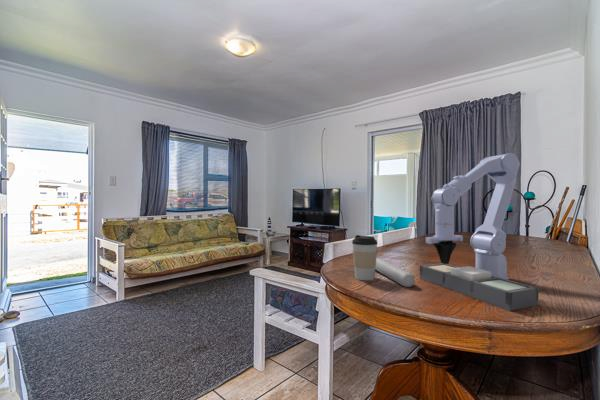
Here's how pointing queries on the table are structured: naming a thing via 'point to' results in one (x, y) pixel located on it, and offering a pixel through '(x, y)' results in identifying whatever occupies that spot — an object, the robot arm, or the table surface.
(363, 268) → the coffee cup
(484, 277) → the middle key
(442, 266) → the sand key
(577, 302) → the table surface
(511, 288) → the sage key
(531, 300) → the grey button box
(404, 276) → the tube
